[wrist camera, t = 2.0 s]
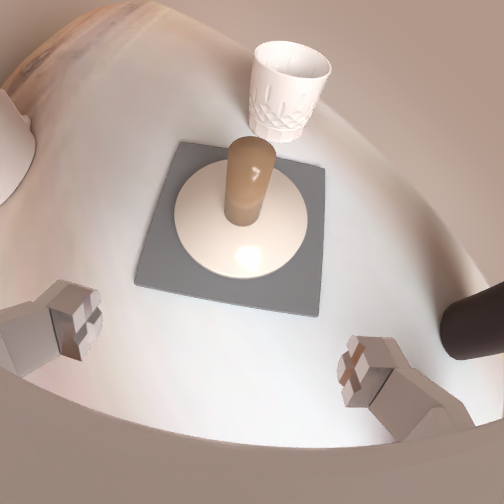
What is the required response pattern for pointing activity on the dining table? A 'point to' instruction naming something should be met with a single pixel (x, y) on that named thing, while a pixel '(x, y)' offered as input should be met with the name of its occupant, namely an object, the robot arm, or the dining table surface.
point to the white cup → (284, 89)
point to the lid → (241, 213)
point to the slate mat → (224, 289)
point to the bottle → (475, 325)
